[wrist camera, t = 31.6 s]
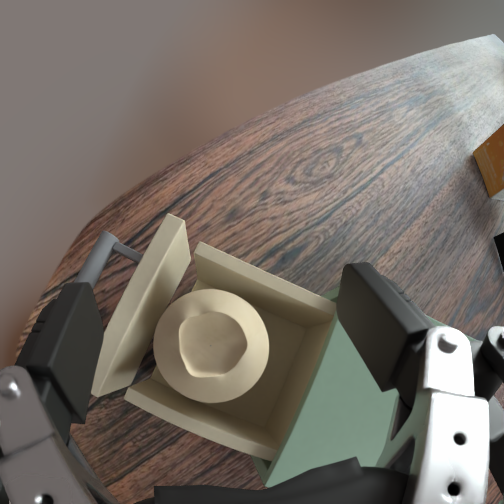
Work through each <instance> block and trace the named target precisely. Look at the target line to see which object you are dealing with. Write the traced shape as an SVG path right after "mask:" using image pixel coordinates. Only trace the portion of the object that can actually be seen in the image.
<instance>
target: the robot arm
mask: <svg viewBox="0 0 504 504" xmlns="http://www.w3.org/2000/svg"><path fill="white" fill-rule="evenodd" d="M336 311H337V316H338V319H339V322H340V323H341V325H342V327H343V328H344V330H345V331H346V333H347V335H348V336H349V338H350V340H351V341H352V343H353V345H354V346H355V348H356V349H357V351H358V353H359V354H360V356H361V358H362V359H363V361H364V363H365V364H366V366H367V368H368V370H369V371H370V373H371V375H372V376H373V378H374V380H375V381H376V383H377V385H378V386H379V388H380V390H381V392H386V391H389V390H392V389H395V388H396V389H397V391H398V395H397V397H396V399H395V403H394V408H393V412H392V417H391V421H390V426H389V430H388V434H387V438H386V442H385V446H384V448H383V451H382V453H381V455H380V457H379V459H378V461H377V463H376V465H375V467H369V466H362V467H361V466H360V463H359V461H358V459H357V457H356V456H355V457H352V458H349V459H346V460H342V461H339V462H335V463H332V464H328V465H324V466H320V467H316V468H312V469H309V470H307V471H305V472H303V473H301V474H299V475H297V476H295V477H293V478H290V479H288V480H286V481H284V482H281V483H279V484H277V485H274V486H272V487H270V488H267V489H264V490H246V489H235V488H226V487H218V486H210V485H191V486H154V497H153V498H148V499H145V500H142V501H139V502H136V503H134V504H485V503H486V495H487V485H488V471H489V469H490V471H491V473H492V475H493V477H494V479H495V481H496V483H497V485H498V487H499V489H500V491H501V493H502V495H503V499H502V500H501V501H500V502H499V503H498V504H504V410H503V408H502V407H501V405H500V404H499V402H498V401H497V399H496V398H495V396H494V394H495V392H496V391H497V390H498V388H499V387H500V385H501V384H502V383H504V327H501V326H495V327H492V328H491V329H490V330H489V331H488V333H487V335H486V337H485V339H484V341H468V339H467V338H466V337H465V336H464V335H463V334H462V333H461V332H460V331H458V330H456V329H454V328H452V327H448V326H435V325H434V324H433V323H432V322H431V321H430V319H429V318H428V317H427V316H426V315H425V314H424V313H423V312H422V311H421V310H420V308H419V307H418V306H417V305H416V304H415V303H414V302H413V301H411V299H410V298H409V297H408V296H407V294H404V291H403V290H402V289H401V288H400V287H399V286H398V285H397V284H396V283H395V282H393V281H392V280H390V279H388V278H386V277H385V276H383V275H381V274H380V273H379V272H378V271H377V270H376V269H375V268H374V267H373V266H372V265H371V264H370V263H368V262H362V263H351V264H346V265H345V266H344V268H343V272H342V278H341V283H340V288H339V294H338V299H337V304H336ZM31 331H32V332H31V333H30V334H29V336H28V338H27V340H26V342H25V344H24V346H23V348H22V350H21V352H20V354H19V357H18V359H17V361H16V363H15V365H14V366H9V367H5V368H3V369H1V370H0V504H9V500H10V502H11V504H120V503H119V502H118V501H117V500H116V498H115V497H114V496H113V495H112V494H111V493H110V492H109V491H108V490H107V488H106V487H105V486H104V485H103V483H102V482H101V481H100V479H99V478H98V476H97V475H96V473H95V472H94V470H93V469H92V467H91V466H90V464H89V463H88V461H87V460H86V458H85V457H84V455H83V453H82V452H81V450H80V449H79V447H78V445H77V444H76V442H75V440H74V438H73V437H72V435H71V434H70V433H69V431H70V426H71V423H77V424H85V420H86V415H87V409H88V404H89V399H90V394H91V390H92V385H93V381H94V376H95V372H96V368H97V363H98V359H99V355H100V351H101V348H102V344H103V339H104V329H103V323H102V319H101V316H100V313H99V310H98V307H97V303H96V300H95V297H94V293H93V290H92V287H91V285H90V283H89V282H77V283H66V284H65V285H64V287H63V289H62V290H61V292H60V294H59V296H58V298H57V299H53V300H52V301H51V302H50V303H49V304H48V305H46V306H45V307H44V308H43V309H42V311H41V313H40V315H39V316H38V318H37V320H36V323H35V324H34V326H33V328H32V330H31Z"/></svg>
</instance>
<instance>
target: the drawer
mask: <svg viewBox="0 0 504 504" xmlns="http://www.w3.org/2000/svg"><path fill="white" fill-rule="evenodd" d="M113 251H115V252H117V253H119V254H121V255H123V256H124V257H126V258H128V259H130V260H132V261H134V262H136V263H138V266H137V268H136V270H135V272H134V274H133V275H132V277H131V279H130V281H129V283H128V285H127V287H126V289H125V291H124V293H123V295H122V297H121V299H120V301H119V303H118V305H117V307H116V309H115V311H114V313H113V315H112V317H111V319H110V321H109V323H108V325H107V327H106V330H105V332H104V339H103V344H102V348H101V351H100V355H99V359H98V363H97V368H96V372H95V376H94V381H93V385H92V390H91V394H93V395H94V396H96V397H99V396H102V395H105V394H108V393H110V392H113V391H116V390H119V389H121V388H124V387H127V386H129V385H131V383H132V381H133V379H134V377H135V375H136V372H137V370H138V368H139V366H140V364H141V361H142V359H143V357H144V355H145V353H146V351H147V348H148V346H149V344H150V342H151V340H152V338H153V336H154V334H155V330H156V326H157V324H158V321H159V320H160V318H161V316H162V314H163V313H164V312H165V310H166V309H167V307H168V305H169V303H170V301H171V299H172V297H173V295H174V293H175V291H176V289H177V287H178V285H179V283H180V281H181V279H182V277H183V275H184V273H185V271H186V269H187V267H188V265H189V263H190V261H191V256H190V251H189V245H188V239H187V233H186V227H185V221H184V220H182V219H180V218H178V217H176V216H173V215H171V214H169V213H167V215H166V216H165V218H164V220H163V221H162V223H161V225H160V227H159V228H158V230H157V232H156V233H155V235H154V237H153V239H152V241H151V242H150V244H149V246H148V248H147V249H146V251H145V253H144V255H143V254H141V253H139V252H137V251H135V250H133V249H131V248H129V247H127V246H125V245H123V244H121V243H119V240H118V239H117V238H116V237H115V236H114V235H112V234H110V233H109V232H107V231H102V233H101V234H100V236H99V238H98V239H97V241H96V243H95V245H94V246H93V248H92V250H91V252H90V254H89V255H88V257H87V259H86V261H85V263H84V264H83V266H82V268H81V270H80V272H79V274H78V276H77V278H76V280H75V282H74V283H77V282H89V283H90V285H91V287H92V290H93V288H94V287H95V285H96V283H97V281H98V279H99V277H100V275H101V273H102V271H103V269H104V267H105V266H106V264H107V262H108V260H109V258H110V256H111V255H112V253H113ZM194 258H195V265H196V272H197V281H196V283H195V285H194V287H193V289H192V291H191V292H194V291H198V290H204V289H216V290H222V291H226V292H229V293H232V294H235V295H237V296H238V297H240V298H242V299H243V300H245V301H246V302H248V303H249V304H250V305H251V306H252V307H253V308H254V309H255V310H256V312H257V313H258V314H259V316H260V317H261V319H262V321H263V323H264V325H265V328H266V331H267V334H268V339H269V355H268V360H267V364H266V367H265V369H264V371H263V373H262V375H261V377H260V378H259V380H258V381H257V382H256V383H255V384H254V385H253V387H252V388H250V389H249V390H248V391H247V392H245V393H244V394H242V395H241V396H239V397H236V398H234V399H232V400H228V401H225V402H218V403H207V402H200V401H196V400H193V399H190V398H188V397H186V396H184V395H182V394H180V393H179V392H178V391H176V390H175V389H174V388H173V387H172V386H170V385H169V384H168V382H167V381H166V380H165V379H164V377H163V376H162V374H161V372H160V370H159V368H158V366H157V365H156V367H155V369H154V371H153V373H152V376H151V378H150V379H147V380H145V381H143V382H140V383H138V384H135V385H133V386H130V387H128V389H127V392H126V394H125V396H124V399H125V400H127V401H128V402H130V403H132V404H134V405H136V406H138V407H140V408H141V409H143V410H145V411H147V412H149V413H151V414H153V415H155V416H157V417H159V418H161V419H163V420H166V421H168V422H170V423H172V424H174V425H176V426H178V427H181V428H183V429H185V430H187V431H190V432H192V433H194V434H197V435H199V436H201V437H204V438H206V439H209V440H211V441H214V442H216V443H219V444H222V445H224V446H227V447H230V448H232V449H235V450H238V451H241V452H244V453H247V454H250V455H253V456H256V457H259V458H262V459H265V460H268V461H273V459H274V457H275V455H276V453H277V451H278V449H279V447H280V445H281V442H282V440H283V438H284V436H285V434H286V432H287V430H288V428H289V425H290V423H291V421H292V419H293V417H294V414H295V412H296V410H297V408H298V405H299V403H300V401H301V399H302V396H303V394H304V392H305V389H306V387H307V384H308V382H309V380H310V377H311V375H312V372H313V370H314V367H315V365H316V362H317V360H318V357H319V355H320V352H321V350H322V347H323V344H324V342H325V339H326V336H327V334H328V331H329V328H330V325H331V323H332V320H333V317H334V314H335V311H336V304H337V303H335V302H332V301H330V300H328V299H326V298H323V297H321V296H319V295H317V294H315V293H312V292H310V291H308V290H306V289H303V288H301V287H299V286H297V285H295V284H292V283H290V282H288V281H286V280H283V279H281V278H279V277H277V276H275V275H272V274H270V273H268V272H266V271H264V270H261V269H259V268H257V267H255V266H253V265H250V264H248V263H246V262H244V261H242V260H239V259H237V258H235V257H233V256H231V255H229V254H226V253H224V252H222V251H220V250H218V249H215V248H213V247H211V246H209V245H207V244H205V243H202V242H199V243H198V245H197V247H196V249H195V251H194Z"/></svg>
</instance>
